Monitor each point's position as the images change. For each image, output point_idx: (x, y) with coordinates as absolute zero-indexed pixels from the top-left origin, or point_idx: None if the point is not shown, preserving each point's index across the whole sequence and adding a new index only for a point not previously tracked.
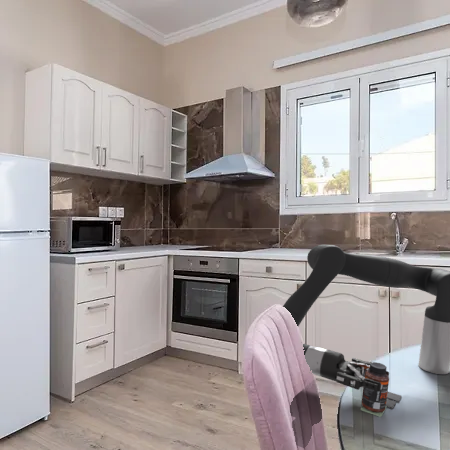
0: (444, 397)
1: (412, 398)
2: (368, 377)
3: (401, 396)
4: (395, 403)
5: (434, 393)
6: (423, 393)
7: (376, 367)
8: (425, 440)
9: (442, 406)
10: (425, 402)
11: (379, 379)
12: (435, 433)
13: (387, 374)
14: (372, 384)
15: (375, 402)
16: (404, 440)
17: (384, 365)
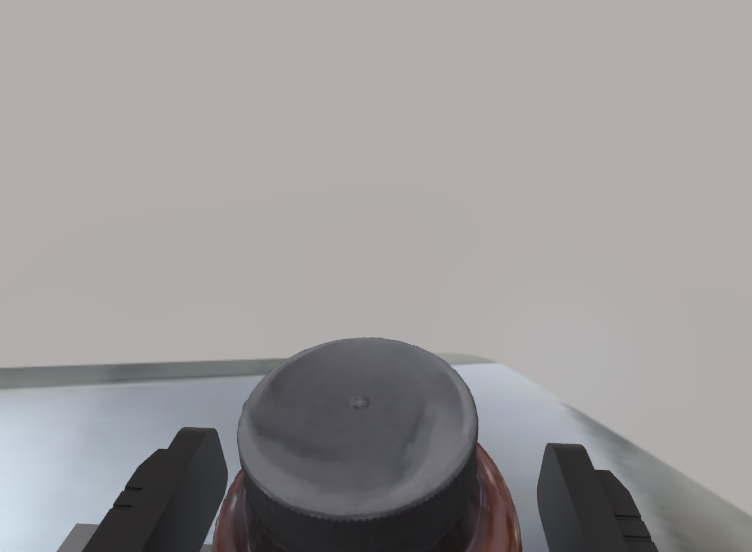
0: (50, 368)
1: (86, 473)
2: None
3: (81, 525)
4: (207, 547)
5: (5, 398)
6: (7, 434)
7: (472, 407)
8: (512, 396)
9: (151, 369)
10: (126, 420)
11: (489, 459)
12: None
13: (213, 445)
14: (643, 528)
15: None
16: (605, 458)
17: (308, 355)
